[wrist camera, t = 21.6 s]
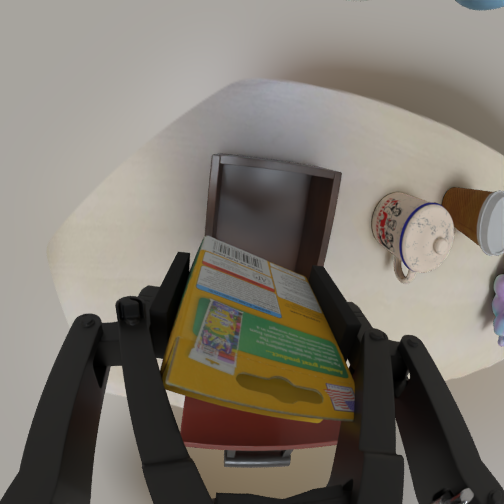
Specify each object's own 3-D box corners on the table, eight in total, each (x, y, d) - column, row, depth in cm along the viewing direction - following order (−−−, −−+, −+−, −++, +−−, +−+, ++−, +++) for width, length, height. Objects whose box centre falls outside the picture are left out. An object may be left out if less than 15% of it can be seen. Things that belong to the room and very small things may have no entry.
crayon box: (188, 273, 18) (142, 427, 7) (205, 233, 17) (161, 376, 6) (286, 311, 19) (327, 459, 8) (307, 276, 18) (376, 420, 7)
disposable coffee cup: (473, 182, 35) (522, 197, 24) (464, 233, 38) (509, 258, 27) (438, 173, 34) (492, 187, 23) (430, 231, 38) (478, 259, 26)
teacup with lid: (374, 186, 35) (423, 204, 24) (422, 194, 35) (474, 213, 24) (360, 266, 39) (398, 306, 28) (407, 267, 40) (449, 302, 29)
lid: (179, 441, 14) (187, 479, 18) (361, 436, 15) (321, 477, 19) (200, 302, 29) (199, 361, 33) (314, 310, 30) (296, 365, 34)
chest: (218, 153, 32) (212, 154, 24) (317, 166, 33) (342, 172, 25) (207, 269, 38) (201, 303, 29) (297, 277, 39) (312, 310, 31)
